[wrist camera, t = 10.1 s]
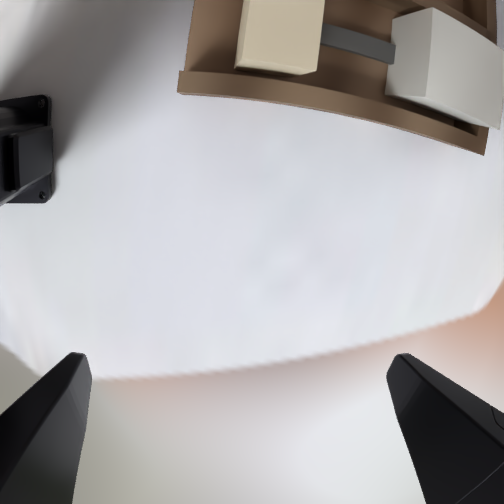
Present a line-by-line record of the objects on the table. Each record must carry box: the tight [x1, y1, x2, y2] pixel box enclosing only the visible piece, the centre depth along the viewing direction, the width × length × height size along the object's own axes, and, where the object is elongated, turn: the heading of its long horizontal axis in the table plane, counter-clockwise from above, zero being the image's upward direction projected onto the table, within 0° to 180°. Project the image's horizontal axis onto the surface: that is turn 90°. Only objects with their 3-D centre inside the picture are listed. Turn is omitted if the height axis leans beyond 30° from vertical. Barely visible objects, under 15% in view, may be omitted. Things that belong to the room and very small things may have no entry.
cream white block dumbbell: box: [234, 0, 504, 130], centre depth 13 cm, size 14×6×4 cm, turn 83°
